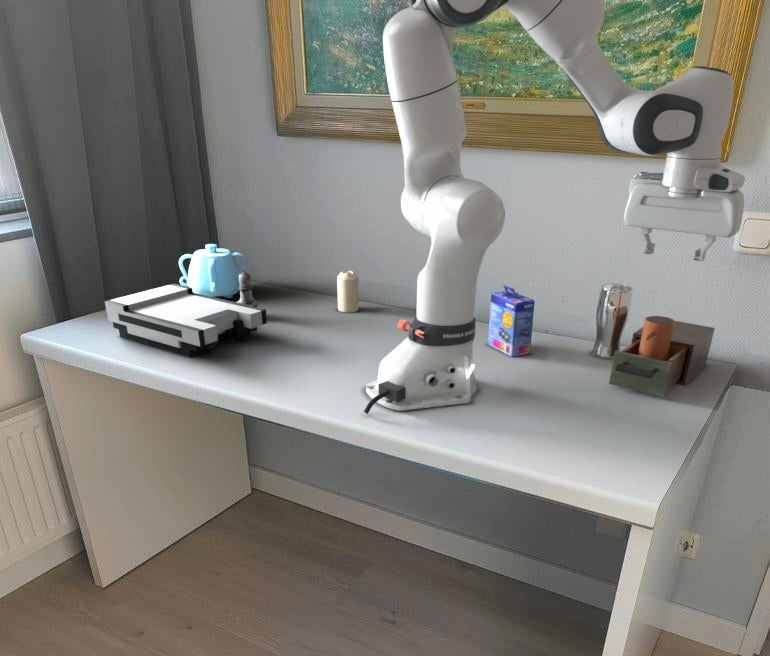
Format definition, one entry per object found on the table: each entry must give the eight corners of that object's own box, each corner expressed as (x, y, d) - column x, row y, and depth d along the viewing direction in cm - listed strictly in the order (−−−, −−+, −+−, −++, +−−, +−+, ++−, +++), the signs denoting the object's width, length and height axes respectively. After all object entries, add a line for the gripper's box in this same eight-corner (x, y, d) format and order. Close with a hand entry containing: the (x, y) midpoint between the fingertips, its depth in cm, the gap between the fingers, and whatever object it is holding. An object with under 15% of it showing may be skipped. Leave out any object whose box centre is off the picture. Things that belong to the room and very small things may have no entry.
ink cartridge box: (485, 344, 167) (490, 281, 159) (505, 341, 169) (510, 279, 162) (510, 357, 160) (517, 292, 152) (530, 353, 162) (538, 289, 154)
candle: (358, 312, 189) (357, 274, 184) (337, 312, 189) (336, 273, 184) (359, 306, 194) (358, 269, 188) (338, 306, 194) (337, 268, 188)
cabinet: (684, 385, 146) (694, 345, 141) (625, 371, 152) (633, 333, 148) (705, 365, 156) (714, 327, 151) (649, 354, 162) (657, 317, 158)
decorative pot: (257, 294, 204) (253, 244, 197) (211, 305, 194) (205, 253, 187) (222, 284, 214) (216, 236, 207) (176, 294, 203) (169, 244, 196)
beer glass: (622, 360, 158) (635, 292, 150) (590, 358, 159) (601, 290, 151) (620, 350, 164) (632, 284, 156) (589, 348, 165) (599, 282, 157)
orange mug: (639, 369, 148) (650, 313, 142) (666, 375, 145) (679, 319, 139) (623, 381, 142) (634, 324, 136) (651, 388, 139) (663, 329, 133)
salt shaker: (248, 312, 189) (243, 265, 183) (264, 315, 186) (260, 268, 180) (232, 317, 185) (226, 269, 179) (248, 321, 182) (243, 273, 176)
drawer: (656, 403, 135) (664, 370, 132) (600, 390, 141) (606, 357, 138) (685, 377, 147) (693, 345, 144) (633, 365, 153) (639, 335, 149)
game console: (202, 362, 156) (197, 325, 152) (111, 335, 172) (104, 301, 167) (268, 338, 170) (265, 304, 166) (178, 315, 186) (173, 283, 182)
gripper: (625, 172, 129) (612, 252, 136) (745, 181, 118) (724, 267, 125) (638, 169, 133) (625, 246, 140) (755, 177, 122) (734, 261, 130)
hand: (673, 256), depth 133 cm, fingers open, 8 cm apart
